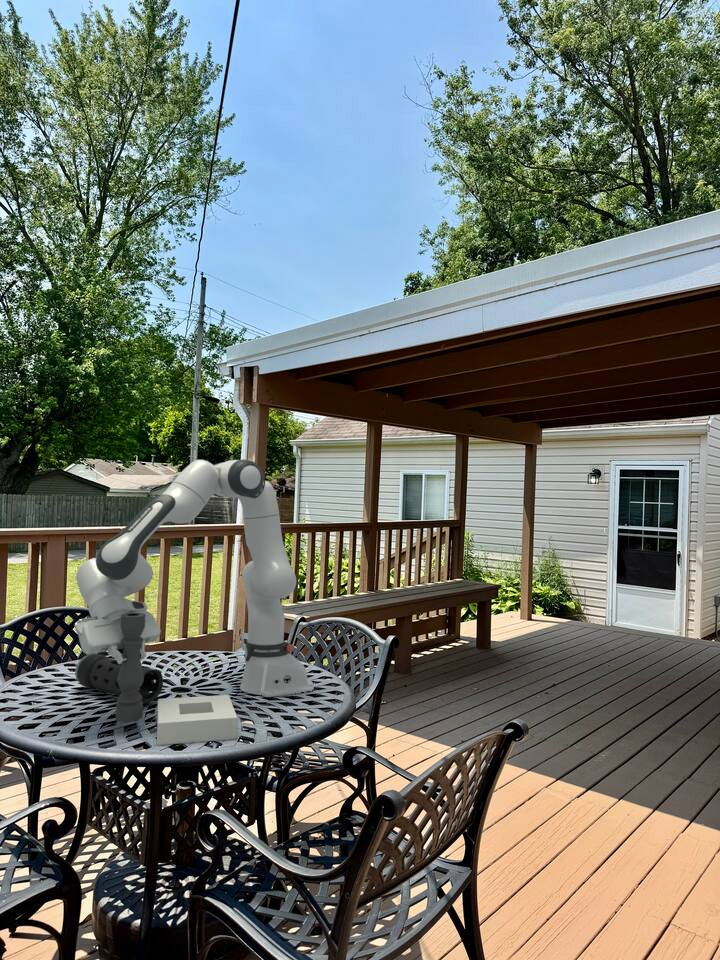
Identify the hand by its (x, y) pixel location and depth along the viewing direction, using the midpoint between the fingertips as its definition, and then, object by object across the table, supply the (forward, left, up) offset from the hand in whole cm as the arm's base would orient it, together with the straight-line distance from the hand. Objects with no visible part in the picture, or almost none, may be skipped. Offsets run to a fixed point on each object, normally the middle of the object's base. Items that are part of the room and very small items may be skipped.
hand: (133, 660), depth 150 cm
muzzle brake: (+5, -29, -17) cm, 34 cm away
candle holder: (0, -1, -14) cm, 14 cm away
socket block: (-15, +1, -17) cm, 23 cm away
